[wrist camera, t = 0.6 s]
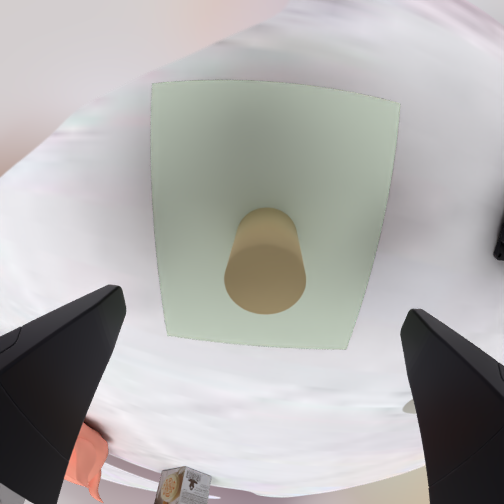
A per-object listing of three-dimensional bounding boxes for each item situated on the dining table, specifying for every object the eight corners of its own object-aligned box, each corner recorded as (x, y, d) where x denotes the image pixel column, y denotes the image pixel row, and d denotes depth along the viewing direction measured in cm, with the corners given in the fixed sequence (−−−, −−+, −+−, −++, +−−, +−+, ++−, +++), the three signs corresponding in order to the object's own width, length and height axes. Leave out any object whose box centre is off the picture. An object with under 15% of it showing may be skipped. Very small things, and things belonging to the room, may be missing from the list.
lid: (390, 104, 11) (448, 101, 7) (342, 336, 17) (358, 400, 13) (161, 86, 12) (106, 73, 7) (172, 323, 18) (147, 384, 13)
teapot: (114, 422, 34) (87, 493, 22) (119, 455, 42) (102, 508, 30) (24, 373, 33) (-12, 430, 20) (46, 419, 41) (23, 465, 28)
